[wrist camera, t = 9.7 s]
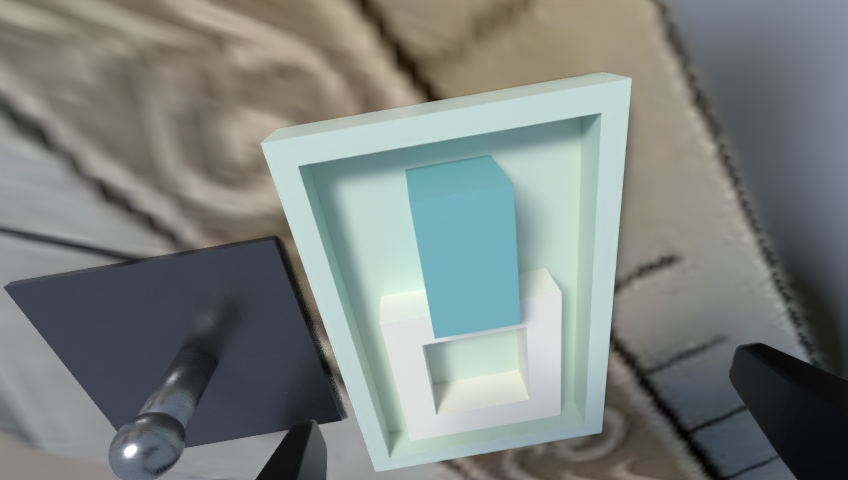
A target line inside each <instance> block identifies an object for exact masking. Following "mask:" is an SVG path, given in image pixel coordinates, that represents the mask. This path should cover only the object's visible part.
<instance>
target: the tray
mask: <svg viewBox="0 0 848 480" xmlns="http://www.w3.org/2000/svg"><path fill="white" fill-rule="evenodd" d="M631 81H632V78H628V77H624V76H619V75H614V74H610V73H605V72H598V73H593V74H587V75H581V76H576V77H570V78H564V79H558V80H553V81H547V82H541V83H536V84H530V85H524V86H519V87H513V88H507V89H502V90H496V91H490V92H485V93H479V94H473V95H467V96H462V97H456V98H450V99H445V100H439V101H433V102H428V103H422V104H416V105H411V106H405V107H399V108H393V109H388V110H382V111H376V112H371V113H365V114H359V115H354V116H348V117H342V118H337V119H331V120H325V121H319V122H314V123H308V124H302V125H297V126H291V127H285V128H280V129H276V130H275V131H274V132H272V133H271V134H270V135H269V136H268V137H267V138H266V139H265V140H264V141H263V142H262V143H261V146H262V148H263V151H264V154H265V157H266V160H267V163H268V166H269V168H270V171H271V174H272V177H273V180H274V183H275V186H276V188H277V191H278V194H279V197H280V200H281V203H282V206H283V209H284V211H285V214H286V217H287V220H288V223H289V226H290V229H291V231H292V234H293V237H294V240H295V243H296V246H297V249H298V251H299V254H300V257H301V260H302V263H303V266H304V269H305V271H306V274H307V277H308V280H309V283H310V286H311V289H312V291H313V294H314V297H315V300H316V303H317V306H318V309H319V311H320V314H321V317H322V320H323V323H324V326H325V329H326V331H327V334H328V337H329V340H330V343H331V346H332V349H333V351H334V354H335V357H336V360H337V363H338V366H339V369H340V371H341V374H342V377H343V380H344V383H345V386H346V389H347V391H348V394H349V397H350V400H351V403H352V406H353V409H354V412H355V414H356V417H357V420H358V423H359V426H360V429H361V432H362V434H363V437H364V440H365V443H366V446H367V449H368V452H369V454H370V457H371V460H372V463H373V466H374V469H375V472H379V471H385V470H391V469H397V468H402V467H408V466H414V465H420V464H425V463H431V462H437V461H442V460H448V459H454V458H460V457H465V456H471V455H477V454H482V453H488V452H494V451H500V450H505V449H511V448H517V447H523V446H528V445H534V444H540V443H545V442H551V441H557V440H563V439H568V438H574V437H580V436H585V435H591V434H597V433H602V424H603V412H604V400H605V388H606V376H607V365H608V353H609V341H610V329H611V317H612V305H613V294H614V282H615V270H616V258H617V246H618V235H619V223H620V211H621V199H622V187H623V175H624V164H625V152H626V140H627V128H628V116H629V104H630V93H631ZM485 155H491V157H492V158H493V159H494V160H495V162H496V163H497V164H498V165H499V167H500V168H501V169H502V170H503V172H504V173H505V174H506V175H507V177H508V178H509V179H510V180H511V182H512V183H513V185H514V204H515V223H516V243H517V262H518V273H521V272H527V271H533V270H538V269H544V268H546V269H547V271H548V272H549V274H550V275H551V277H552V278H553V280H554V281H555V283H556V284H557V286H558V288H559V289H560V291H561V292H562V320H561V415H558V416H552V417H547V418H541V419H535V420H529V421H524V422H518V423H512V424H507V425H501V426H495V427H489V428H484V429H478V430H472V431H466V432H461V433H455V434H449V435H444V436H438V437H432V438H426V439H421V440H415V441H411V440H410V436H409V432H408V428H407V424H406V421H405V417H404V413H403V409H402V406H401V402H400V398H399V394H398V390H397V387H396V383H395V379H394V375H393V372H392V368H391V364H390V360H389V356H388V353H387V349H386V345H385V341H384V338H383V334H382V330H381V326H380V303H381V297H384V296H390V295H396V294H401V293H407V292H413V291H418V290H424V289H425V284H424V279H423V273H422V268H421V263H420V257H419V252H418V246H417V241H416V236H415V230H414V225H413V220H412V214H411V209H410V203H409V196H408V188H407V180H406V172H405V169H411V168H416V167H422V166H428V165H434V164H439V163H445V162H451V161H456V160H462V159H468V158H473V157H479V156H485ZM425 349H426V354H427V359H428V364H429V369H430V374H431V379H432V384H433V385H436V384H442V383H448V382H453V381H459V380H465V379H471V378H476V377H482V376H488V375H493V374H499V373H505V372H511V371H516V370H518V354H517V337H516V329H513V330H508V331H502V332H496V333H490V334H485V335H479V336H473V337H467V338H462V339H456V340H450V341H445V342H439V343H433V344H427V345H425Z"/></svg>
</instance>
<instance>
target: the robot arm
mask: <svg viewBox="0 0 848 480" xmlns="http://www.w3.org/2000/svg"><path fill="white" fill-rule="evenodd" d="M729 377H730V381H731V383H732V385H733V387H734V388H735V390H736V391H737V393H738V394H739V396H740V397H741V399H742V400H743V402H744V404H745V405H746V407H747V408H748V410H749V411H750V413H751V414H752V416H753V417H754V419H755V420H756V422H757V424H758V425H759V427H760V428H761V430H762V431H763V433H764V434H765V436H766V437H767V439H768V440H769V442H770V443H771V445H772V446H773V448H774V449H775V451H776V452H777V454H778V455H779V456H780V458H781V459H782V460H783V462H784V463H785V464H786V466H787V467H788V468H789V470H790V471H791V472H792V473H793V475H794V476H795V477H796V479H797V480H848V380H845V379H843V378H841V377H839V376H836V375H834V374H832V373H829V372H827V371H825V370H823V369H820V368H818V367H816V366H813V365H811V364H809V363H807V362H804V361H802V360H800V359H797V358H795V357H793V356H791V355H788V354H786V353H784V352H781V351H779V350H777V349H774V348H772V347H770V346H768V345H765V344H763V343H750V344H744V345H740V346H738V347H737V348H736V350H735V353H734V356H733V360H732V363H731V367H730V370H729ZM326 471H327V448H326V443H325V441H324V438H323V436H322V433H321V431H320V429H319V426H318V424H317V422H316V421H315V420H312V419H311V420H305V421H299V422H296V423H295V424H294V425H293V426H292V427H291V429H290V430H289V432H288V433H287V435H286V436H285V437H284V439H283V440H282V442H281V443H280V445H279V446H278V448H277V449H276V450H275V452H274V453H273V455H272V456H271V458H270V459H269V461H268V462H267V463H266V465H265V466H264V468H263V469H262V471H261V472H260V474H259V475H258V477H257V478H256V479H255V480H326Z"/></svg>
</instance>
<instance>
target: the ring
mask: <svg viewBox="0 0 848 480" xmlns="http://www.w3.org/2000/svg"><path fill="white" fill-rule="evenodd" d="M405 172H406V180H407V188H408V196H409V203H410V209H411V214H412V220H413V225H414V230H415V236H416V241H417V246H418V252H419V257H420V263H421V268H422V273H423V279H424V284H425V289H424V290H418V291H413V292H407V293H401V294H396V295H390V296H384V297H381V303H380V326H381V330H382V334H383V338H384V341H385V345H386V349H387V353H388V356H389V360H390V364H391V368H392V372H393V375H394V379H395V383H396V387H397V390H398V394H399V398H400V402H401V406H402V409H403V413H404V417H405V421H406V424H407V428H408V432H409V436H410V440H411V441H415V440H421V439H426V438H432V437H438V436H444V435H449V434H455V433H461V432H466V431H472V430H478V429H484V428H489V427H495V426H501V425H507V424H512V423H518V422H524V421H529V420H535V419H541V418H547V417H552V416H558V415H561V320H562V292H561V291H560V289H559V288H558V286H557V284H556V283H555V281H554V280H553V278H552V277H551V275H550V274H549V272H548V271H547V269H546V268H544V269H538V270H533V271H527V272H521V273H518V262H517V243H516V223H515V204H514V185H513V183H512V182H511V180H510V179H509V178H508V177H507V175H506V174H505V173H504V172H503V170H502V169H501V168H500V167H499V165H498V164H497V163H496V162H495V160H494V159H493V158H492V157H491V155H485V156H479V157H473V158H468V159H462V160H456V161H451V162H445V163H439V164H434V165H428V166H422V167H416V168H411V169H405ZM513 329H516V337H517V354H518V370H516V371H511V372H505V373H499V374H493V375H488V376H482V377H476V378H471V379H465V380H459V381H453V382H448V383H442V384H436V385H433V384H432V379H431V374H430V369H429V364H428V359H427V354H426V349H425V345H427V344H433V343H439V342H445V341H450V340H456V339H462V338H467V337H473V336H479V335H485V334H490V333H496V332H502V331H508V330H513Z"/></svg>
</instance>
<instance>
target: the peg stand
mask: <svg viewBox="0 0 848 480" xmlns="http://www.w3.org/2000/svg"><path fill="white" fill-rule="evenodd" d="M4 289H5V290H6V291H7V292H8V294H9V295H10V296H11V298H12V299H13V300H14V301H15V303H16V304H17V305H18V306H19V308H20V309H21V310H22V311H23V313H24V314H25V315H26V316H27V318H28V319H29V320H30V322H31V323H32V324H33V325H34V327H35V328H36V329H37V330H38V332H39V333H40V334H41V335H42V337H43V338H44V339H45V341H46V342H47V343H48V344H49V346H50V347H51V348H52V349H53V351H54V352H55V353H56V354H57V356H58V357H59V358H60V359H61V361H62V362H63V363H64V365H65V366H66V367H67V368H68V370H69V371H70V372H71V373H72V375H73V376H74V377H75V378H76V380H77V381H78V382H79V384H80V385H81V386H82V387H83V389H84V390H85V391H86V392H87V394H88V395H89V396H90V397H91V399H92V400H93V401H94V402H95V404H96V405H97V406H98V408H99V409H100V410H101V411H102V413H103V414H104V415H105V416H106V418H107V419H108V420H109V421H110V423H111V424H112V425H113V427H114V428H115V429H116V430H117V433H116V435H115V436H114V438H113V440H112V442H111V445H110V448H109V456H108V457H109V464H110V467H111V469H112V471H113V472H114V473H115V475H117V476H118V477H119V478H120V479H122V480H154V479H157V478H159V477H161V476H162V475H164V474H165V473H167V472H168V471H169V470H170V469H171V468H172V467H173V466H174V465H175V464H176V463H177V461H178V460H179V459H180V457H181V455H182V453H183V451H184V448H187V447H193V446H199V445H204V444H210V443H216V442H222V441H227V440H233V439H239V438H244V437H250V436H256V435H262V434H267V433H273V432H279V431H284V430H290V429H291V427H292V426H293V425H294V424H295V423H296V422H299V421H305V420H311V419H312V420H315V421H316V422H317V424H318V425H319V424H324V423H330V422H336V421H342V412H341V409H340V407H339V404H338V401H337V399H336V396H335V393H334V391H333V388H332V385H331V382H330V380H329V377H328V374H327V372H326V369H325V366H324V364H323V361H322V358H321V356H320V353H319V350H318V348H317V345H316V342H315V340H314V337H313V334H312V332H311V329H310V326H309V323H308V321H307V318H306V315H305V313H304V310H303V307H302V305H301V302H300V299H299V297H298V294H297V291H296V289H295V286H294V283H293V281H292V278H291V275H290V272H289V270H288V267H287V264H286V262H285V259H284V256H283V254H282V251H281V248H280V246H279V243H278V240H277V238H276V236H271V237H265V238H259V239H254V240H248V241H242V242H237V243H231V244H225V245H220V246H214V247H208V248H202V249H197V250H191V251H185V252H180V253H174V254H168V255H163V256H157V257H151V258H145V259H140V260H134V261H128V262H123V263H117V264H111V265H106V266H100V267H94V268H88V269H83V270H77V271H71V272H66V273H60V274H54V275H49V276H43V277H37V278H31V279H26V280H20V281H14V282H10V283H9V284H7V285H6V286H4Z"/></svg>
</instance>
